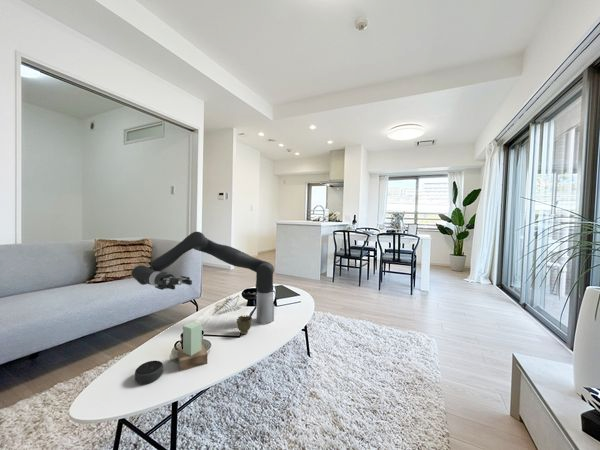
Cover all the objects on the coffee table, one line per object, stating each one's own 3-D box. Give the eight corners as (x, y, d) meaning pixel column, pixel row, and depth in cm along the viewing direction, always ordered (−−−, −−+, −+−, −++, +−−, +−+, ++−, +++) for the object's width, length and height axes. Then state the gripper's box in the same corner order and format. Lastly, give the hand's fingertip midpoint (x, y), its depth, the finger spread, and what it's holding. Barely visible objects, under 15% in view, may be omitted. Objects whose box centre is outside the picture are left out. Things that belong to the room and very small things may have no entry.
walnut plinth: (202, 351, 107) (203, 342, 107) (207, 363, 98) (207, 353, 98) (177, 357, 102) (177, 348, 102) (179, 371, 93) (180, 361, 93)
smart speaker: (143, 389, 84) (143, 377, 83) (129, 379, 88) (129, 369, 88) (168, 374, 91) (168, 364, 91) (154, 366, 96) (154, 356, 96)
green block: (193, 346, 103) (193, 321, 103) (201, 349, 101) (201, 323, 100) (182, 352, 99) (183, 325, 98) (191, 355, 97) (191, 328, 96)
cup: (247, 337, 119) (248, 321, 119) (234, 336, 121) (234, 320, 121) (253, 330, 127) (254, 315, 126) (240, 329, 128) (240, 314, 128)
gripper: (146, 275, 112) (168, 280, 104) (175, 269, 125) (196, 273, 117) (146, 291, 112) (168, 297, 105) (175, 283, 125) (196, 288, 117)
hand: (183, 284), depth 111 cm, fingers open, 8 cm apart
